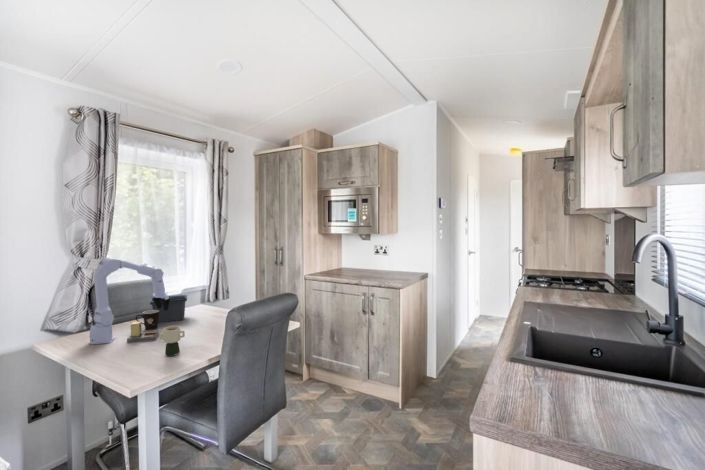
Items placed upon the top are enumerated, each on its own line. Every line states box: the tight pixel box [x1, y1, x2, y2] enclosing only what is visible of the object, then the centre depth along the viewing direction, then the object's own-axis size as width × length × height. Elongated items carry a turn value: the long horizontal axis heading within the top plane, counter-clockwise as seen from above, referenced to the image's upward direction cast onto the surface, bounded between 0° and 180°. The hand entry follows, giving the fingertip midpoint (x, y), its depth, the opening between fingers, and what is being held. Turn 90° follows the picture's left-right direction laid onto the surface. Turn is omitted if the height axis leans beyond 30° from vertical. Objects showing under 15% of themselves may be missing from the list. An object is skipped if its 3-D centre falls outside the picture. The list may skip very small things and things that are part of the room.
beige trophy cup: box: [158, 325, 186, 357], centre depth 170 cm, size 11×7×13 cm, turn 110°
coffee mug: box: [135, 309, 159, 331], centre depth 210 cm, size 12×9×10 cm
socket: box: [126, 331, 159, 343], centre depth 192 cm, size 13×9×2 cm
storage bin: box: [149, 294, 188, 323], centre depth 228 cm, size 21×16×14 cm
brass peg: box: [130, 321, 143, 337], centre depth 191 cm, size 4×4×9 cm
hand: (163, 309), depth 213 cm, fingers open, 7 cm apart
